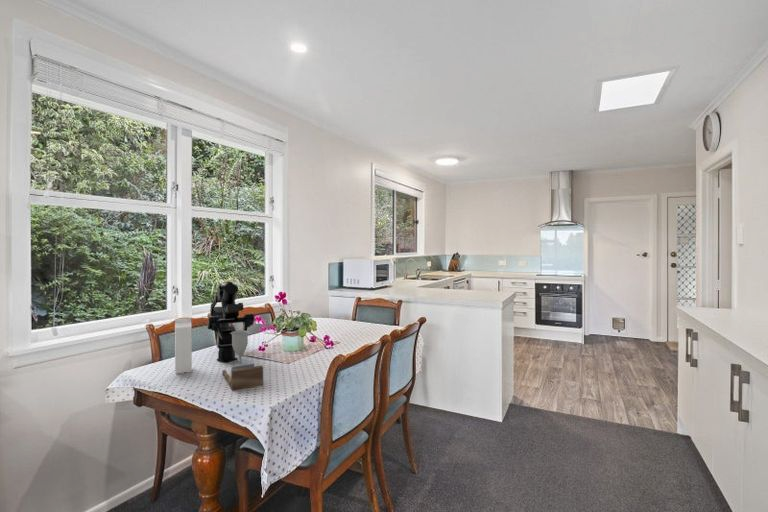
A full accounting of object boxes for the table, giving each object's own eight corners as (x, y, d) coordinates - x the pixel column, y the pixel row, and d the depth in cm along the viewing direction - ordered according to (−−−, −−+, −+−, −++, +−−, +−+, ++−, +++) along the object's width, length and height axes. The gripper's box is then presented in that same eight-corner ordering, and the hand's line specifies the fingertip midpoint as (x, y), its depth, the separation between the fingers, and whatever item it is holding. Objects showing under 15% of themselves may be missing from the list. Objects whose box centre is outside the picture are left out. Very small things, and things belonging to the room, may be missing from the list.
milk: (191, 371, 165) (191, 319, 164) (175, 374, 162) (175, 320, 161) (190, 367, 170) (191, 316, 169) (174, 369, 167) (174, 317, 166)
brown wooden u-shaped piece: (222, 374, 161) (222, 357, 161) (250, 370, 167) (250, 354, 167) (232, 390, 144) (232, 371, 144) (262, 385, 150) (263, 366, 150)
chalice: (251, 377, 158) (251, 332, 158) (234, 381, 154) (234, 335, 153) (244, 373, 164) (245, 329, 163) (228, 376, 160) (228, 331, 159)
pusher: (231, 382, 152) (231, 366, 152) (253, 378, 157) (253, 363, 157) (231, 382, 152) (231, 367, 151) (254, 379, 156) (254, 363, 156)
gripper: (208, 297, 167) (212, 328, 158) (253, 295, 177) (260, 324, 168) (205, 313, 174) (209, 344, 165) (249, 310, 184) (255, 339, 175)
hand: (234, 337), depth 168 cm, fingers open, 9 cm apart
